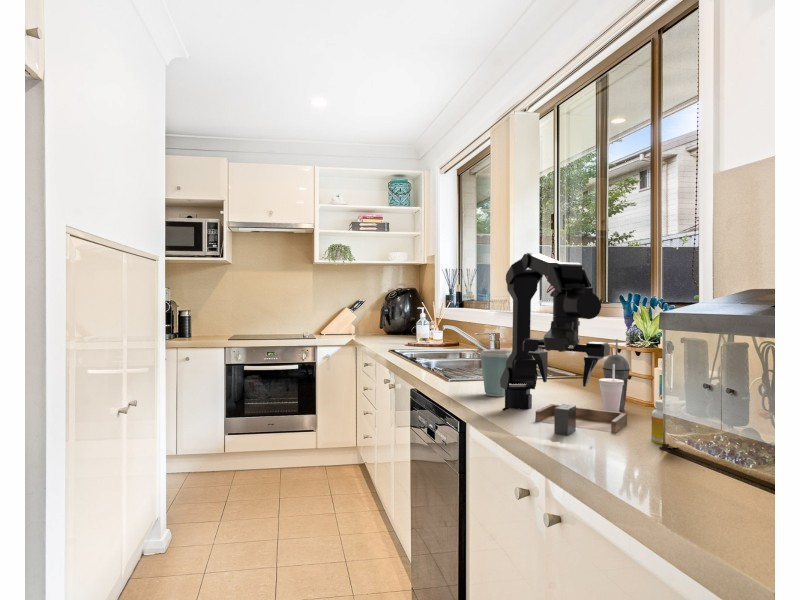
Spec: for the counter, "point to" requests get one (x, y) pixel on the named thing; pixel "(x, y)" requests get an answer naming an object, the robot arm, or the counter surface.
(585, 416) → the walnut box
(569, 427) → the cover plate
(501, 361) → the disposable coffee cup
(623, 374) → the beverage cup
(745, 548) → the counter surface
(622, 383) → the smoothie
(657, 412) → the supplement bottle
